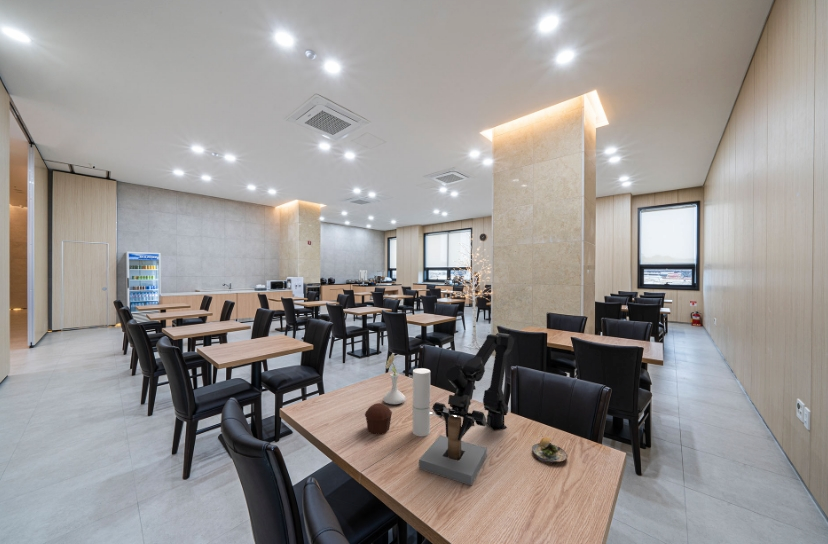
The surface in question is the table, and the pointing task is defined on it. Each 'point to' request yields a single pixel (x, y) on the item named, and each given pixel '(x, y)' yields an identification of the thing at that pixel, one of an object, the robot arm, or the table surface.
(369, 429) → the muffin
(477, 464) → the hub plate
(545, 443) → the plate of food
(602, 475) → the table surface
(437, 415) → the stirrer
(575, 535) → the table surface
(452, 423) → the walnut peg
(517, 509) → the table surface
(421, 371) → the cylindrical container
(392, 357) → the flower in vase
